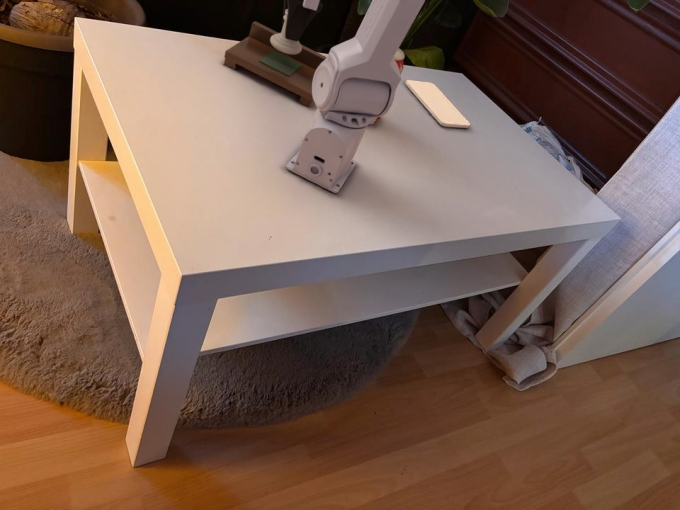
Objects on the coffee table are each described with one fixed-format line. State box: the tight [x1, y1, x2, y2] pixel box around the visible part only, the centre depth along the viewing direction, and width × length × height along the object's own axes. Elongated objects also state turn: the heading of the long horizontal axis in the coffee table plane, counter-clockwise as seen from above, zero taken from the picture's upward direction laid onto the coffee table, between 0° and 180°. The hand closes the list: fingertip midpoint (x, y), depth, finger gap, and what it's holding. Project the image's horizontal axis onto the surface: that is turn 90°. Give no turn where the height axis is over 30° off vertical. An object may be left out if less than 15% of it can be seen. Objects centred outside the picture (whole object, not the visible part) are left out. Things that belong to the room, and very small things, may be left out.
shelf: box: [223, 20, 327, 108], centre depth 94 cm, size 10×16×5 cm, turn 71°
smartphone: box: [405, 79, 471, 129], centre depth 109 cm, size 7×1×15 cm
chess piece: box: [270, 9, 302, 55], centre depth 89 cm, size 5×5×9 cm
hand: (289, 33), depth 90 cm, fingers closed on chess piece, 3 cm apart
